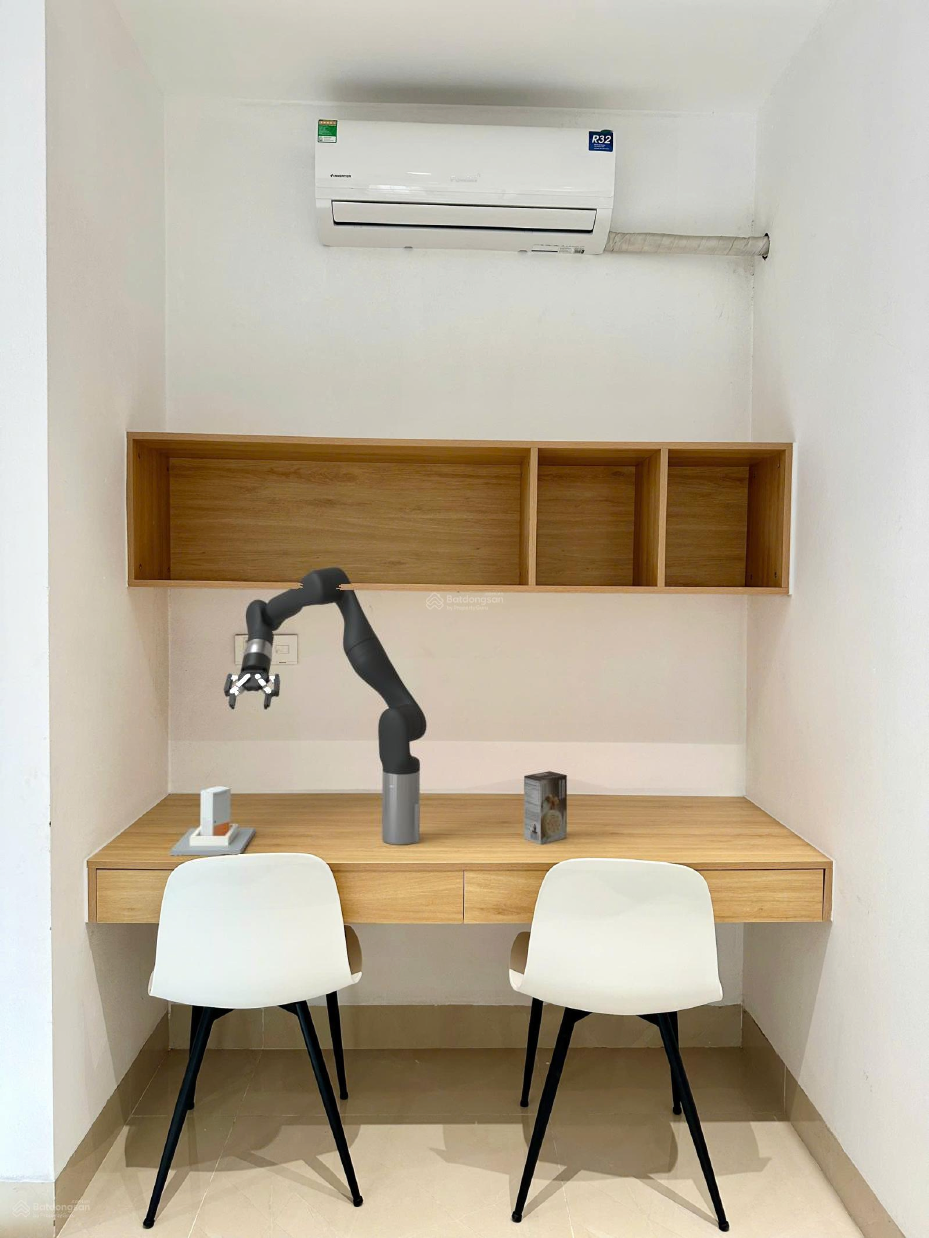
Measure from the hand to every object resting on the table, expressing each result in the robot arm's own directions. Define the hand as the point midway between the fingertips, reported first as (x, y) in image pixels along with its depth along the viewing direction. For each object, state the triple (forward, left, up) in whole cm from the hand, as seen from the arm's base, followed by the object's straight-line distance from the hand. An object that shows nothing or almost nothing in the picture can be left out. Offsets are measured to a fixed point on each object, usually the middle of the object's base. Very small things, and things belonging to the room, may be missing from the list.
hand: (248, 707), depth 221 cm
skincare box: (+5, +16, -30) cm, 34 cm away
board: (+5, +17, -31) cm, 35 cm away
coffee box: (-76, +15, -31) cm, 83 cm away
